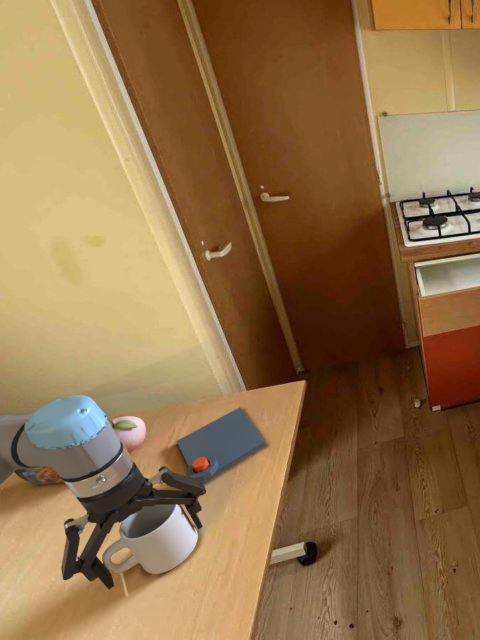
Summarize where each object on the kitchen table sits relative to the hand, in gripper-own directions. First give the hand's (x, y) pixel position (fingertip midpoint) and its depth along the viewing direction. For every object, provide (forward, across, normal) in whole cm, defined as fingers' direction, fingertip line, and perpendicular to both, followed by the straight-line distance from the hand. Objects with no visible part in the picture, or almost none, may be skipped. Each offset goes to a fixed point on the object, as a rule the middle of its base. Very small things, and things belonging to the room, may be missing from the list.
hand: (157, 551), depth 78 cm
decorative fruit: (+2, +1, +34) cm, 34 cm away
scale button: (-1, +11, +13) cm, 17 cm away
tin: (+2, -10, +36) cm, 38 cm away
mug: (+2, 0, 0) cm, 2 cm away
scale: (+2, +16, +19) cm, 25 cm away
